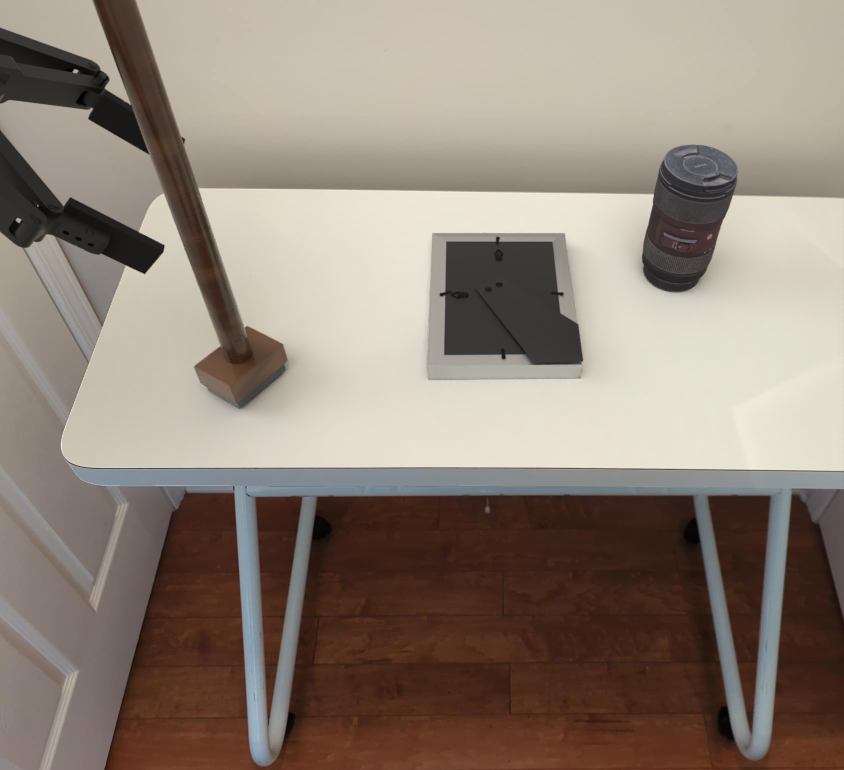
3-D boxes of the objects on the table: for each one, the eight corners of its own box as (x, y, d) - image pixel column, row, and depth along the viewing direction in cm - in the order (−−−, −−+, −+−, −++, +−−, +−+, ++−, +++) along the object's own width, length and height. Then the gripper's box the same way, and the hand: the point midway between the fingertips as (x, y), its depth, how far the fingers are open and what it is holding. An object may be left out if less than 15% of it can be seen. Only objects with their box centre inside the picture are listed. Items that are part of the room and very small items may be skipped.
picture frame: (580, 378, 78) (563, 246, 91) (583, 360, 76) (565, 227, 89) (427, 379, 77) (433, 246, 90) (426, 361, 75) (431, 227, 88)
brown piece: (239, 412, 73) (67, -41, 44) (203, 391, 75) (15, -57, 46) (290, 369, 77) (164, -72, 48) (255, 350, 79) (112, -85, 50)
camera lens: (720, 282, 88) (757, 173, 76) (665, 305, 85) (695, 196, 74) (677, 242, 92) (706, 133, 81) (624, 263, 89) (645, 153, 78)
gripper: (-122, -26, 55) (162, 143, 68) (-295, 179, 39) (116, 345, 53) (-84, -111, 51) (206, 85, 65) (-258, 76, 36) (172, 283, 49)
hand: (166, 202), depth 59 cm, fingers open, 13 cm apart
